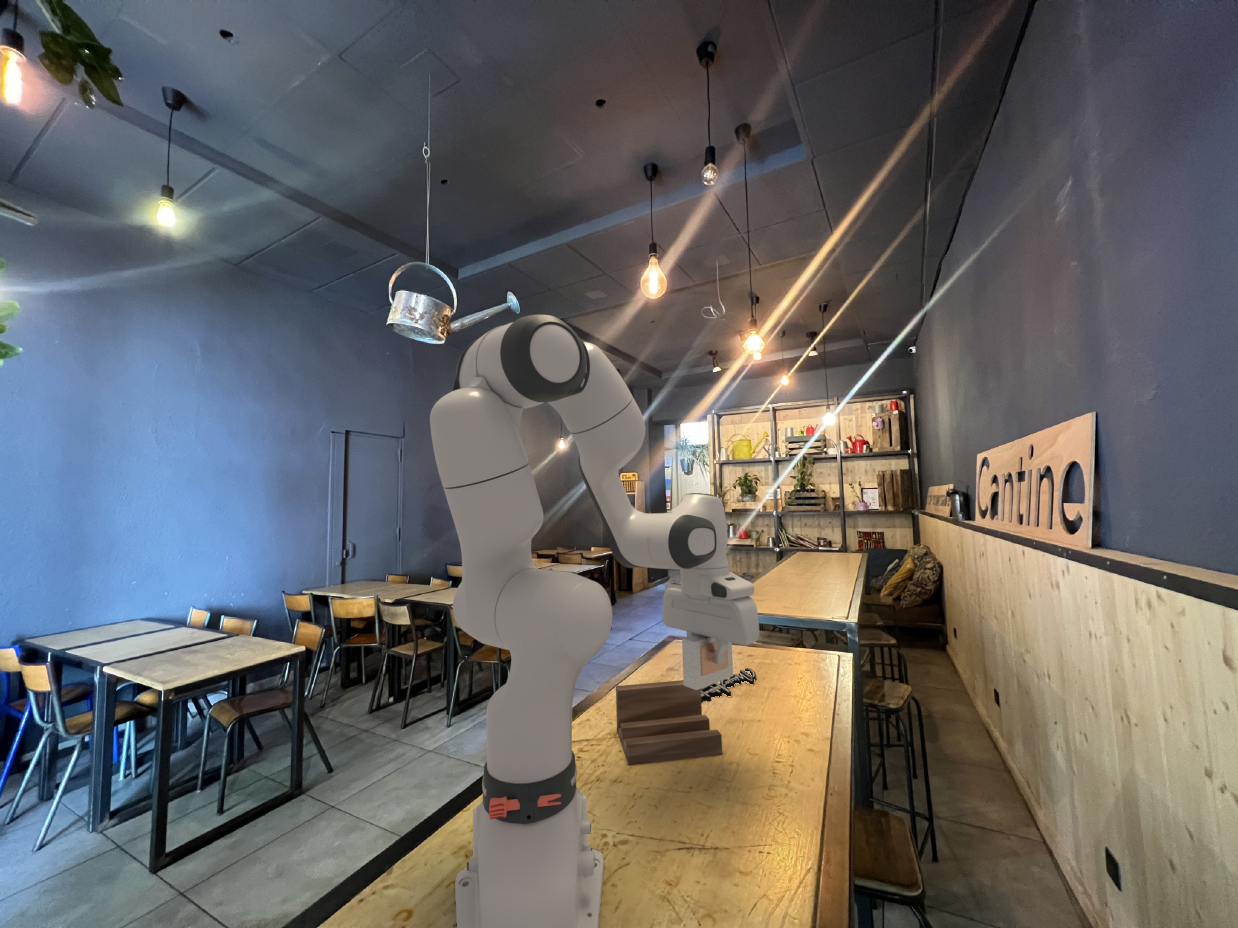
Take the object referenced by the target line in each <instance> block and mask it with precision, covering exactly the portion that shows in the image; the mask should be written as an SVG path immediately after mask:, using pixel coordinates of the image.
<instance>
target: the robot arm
mask: <svg viewBox="0 0 1238 928" xmlns="http://www.w3.org/2000/svg"><path fill="white" fill-rule="evenodd" d="M452 389H453V390H452V391H450V392H448V393H447V394H444V395H443V396H442V397H440V398H439V399H438V400H437V401H436V402H435V404H434V405H433V407H432V408H431V411H430V414H429V425H430V436H431V441H432V442H431V443H432V447H433V448H432V449H433V453H434V458H435V464H436V467H437V471H438V475H439V478H440V479H439V480H440V482H441V485H442V487H443V491H444V495H445V498H446V500H447V504H448V507H449V510H450V513H451V516H452V517H451V518H452V520H453V521H452V522H453V523H454V527H455V529H456V533H457V538H458V541H459V546H460V552H461V566H462V567H461V568H462V571H461V572H462V575H461V582H460V584H459V585H458V587H457V588H456V591H455V593H454V596H453V601H452V602H453V603H452V612H453V617H454V620H455V622H456V624H457V626H458V627H459V628H460V629H461V631H463V632H465V633H466V634H467V635H469V636H470V637H472V638H474V639H475V640H476V641H477V642H479V643H482V644H483V645H487V646H492V647H495V648H499V649H502V650H507V651H509V652H510V659H511V661H510V668H509V674H508V677H507V681H506V683H504V684H503V685H502V686H500V687H499V688H498V689H497V690H496V691H495V692H494V693H493V695H491V697H490V699H489V701H488V703H487V708H486V761H485V763H484V765H483V774H482V781H481V782H482V784H481V787H482V788H481V790H482V801H481V802H480V803H479V804H478V805H476V807H475V808H474V810H473V811H472V858H468V861H467V862H466V864H467V865H466V867H465V868H463V869H462V870H461V871H459V872H458V874H457V875H456V876H455V883H454V898H455V899H454V902H455V901H456V908H455V923H456V922H457V928H598V927H599V928H600V926H599V925H600V918H599V913H600V914H601V907H600V904H601V903H602V895H603V893H602V892H603V884H604V883H603V882H604V871H605V859H604V855H603V853H602V852H600V851H599V850H597V849H595V848H592V845H590V844H589V835H590V834H591V833H592V821H591V820H588V807H587V805H588V801H587V796H586V795H584V792H583V793H582V792H581V791H580V790H579V789H578V788H577V772H578V771H577V763H576V755H575V754H576V753H574V750H573V726H572V725H573V701H574V694H575V690H576V687H577V682H578V680H579V677H580V675H581V671H582V670H583V668H584V666H585V665H586V663H588V662H589V660H591V659H592V658H593V657H595V656H596V655H597V654H598V653H599V652H600V651H601V650H602V648H603V646H604V645H605V644H606V642H607V640H608V637H609V636H610V632H611V629H612V624H613V607H612V604H611V603H612V602H611V600H610V597H609V593H608V592H607V591H606V589H605V588H604V586H602V585H601V584H600V583H599V582H597V581H595V580H592V579H589V578H588V577H585V576H582V575H579V574H577V573H574V572H571V571H566V570H553V569H551V570H550V569H539V568H537V566H536V565H535V563H534V560H533V557H532V539H533V538H534V537H535V535H536V534H537V533H538V532H539V530H540V529H541V527H542V525H543V522H544V509H543V506H542V503H541V500H540V495H539V492H538V488H537V486H536V482H535V478H534V476H533V472H532V468H531V464H530V462H529V458H528V455H527V452H526V449H525V446H524V443H523V441H522V434H521V420H522V419H521V418H522V415H523V411H524V410H525V409H529V408H533V407H537V406H539V405H542V404H545V403H547V404H548V405H550V406H551V407H552V408H554V410H556V412H557V413H558V415H559V416H560V417H561V420H562V422H563V424H564V425H565V426H566V427H565V428H566V429H567V430H568V432H569V434H570V435H571V437H572V438H573V441H574V443H575V445H576V448H577V451H578V453H579V454H578V457H577V462H578V468H579V469H578V470H579V472H580V475H581V478H582V480H583V482H584V485H585V487H586V489H587V491H588V493H589V495H590V498H591V500H592V502H593V504H594V506H595V508H596V510H597V512H598V516H599V517H600V519H601V521H602V523H603V526H604V528H605V531H606V535H607V540H608V543H609V547H610V551H611V552H612V556H613V557H614V558H615V560H616V562H618V563H619V564H620V565H621V566H623V567H625V568H628V569H635V568H636V569H637V568H639V569H640V568H642V569H643V568H649V569H651V568H652V569H663V570H678V571H679V570H680V571H679V572H680V578H676V577H670V578H669V579H668V580H667V581H666V582H665V584H664V594H663V599H662V611H661V613H662V615H661V616H662V618H661V619H662V621H663V624H664V625H665V626H666V627H668V628H672V629H676V630H680V631H684V632H686V637H690V636H694V635H697V634H700V635H704V636H708V637H712V638H715V643H716V645H718V647H717V650H716V652H713V653H712V662H713V663H716V664H719V665H720V664H723V663H724V661H725V657H724V653H725V651H726V649H727V647H728V645H729V642H732V644H736V645H741V646H748V645H751V644H755V643H756V642H757V640H758V639H759V637H760V622H759V621H760V620H759V613H758V607H757V603H756V602H755V600H754V599H753V598H752V597H751V596H753V595H754V594H755V585H754V584H753V583H752V582H750V581H749V580H747V579H745V578H743V577H741V576H739V575H737V574H735V573H733V572H732V571H730V563H729V560H728V558H727V557H728V556H727V547H728V543H729V541H728V538H729V537H728V526H727V524H728V523H727V516H726V512H725V508H724V504H723V502H722V499H721V498H719V497H718V496H717V495H714V494H709V493H700V492H692V493H686V494H683V495H682V496H681V499H680V502H679V504H678V505H677V506H675V507H674V508H673V509H671V510H669V511H668V512H664V513H663V512H661V513H660V512H659V513H658V512H657V513H655V512H654V513H651V512H650V513H646V512H642V511H640V510H638V509H636V508H634V507H633V505H632V503H631V501H630V499H629V497H628V494H627V492H626V489H625V486H624V484H623V482H622V479H621V477H620V474H619V473H620V472H619V470H621V469H622V468H623V467H625V466H626V465H627V464H628V463H629V462H630V461H631V460H632V459H633V458H634V457H635V456H636V455H637V453H638V452H639V451H640V449H641V448H642V446H643V444H644V440H645V437H646V429H647V428H646V424H645V419H644V416H643V414H642V412H641V409H640V407H639V406H638V404H637V402H636V400H635V398H634V397H633V395H632V393H631V391H630V389H629V387H628V385H627V384H626V382H625V381H624V379H623V377H622V376H621V374H620V373H619V372H618V370H617V369H616V367H615V365H614V364H613V363H612V362H611V361H610V359H609V358H608V357H607V355H606V354H605V353H604V351H603V350H602V349H601V348H600V347H598V346H597V345H596V344H593V343H591V342H588V341H582V339H580V337H579V335H578V334H577V333H576V331H574V329H573V328H572V327H571V326H570V325H568V324H567V323H566V322H565V321H564V320H562V319H560V318H559V317H556V316H554V315H550V314H532V315H531V314H530V315H526V316H522V317H520V318H518V319H516V320H515V321H513V322H508V323H507V324H505V325H499V326H496V327H493V328H492V329H490V330H489V331H487V332H486V333H484V334H483V335H482V336H480V337H479V338H477V339H475V340H473V341H472V342H470V343H469V344H468V345H467V346H466V347H465V349H464V350H463V351H462V353H461V354H460V356H459V358H458V360H457V365H456V370H455V380H454V384H453V388H452ZM601 905H602V904H601Z"/></svg>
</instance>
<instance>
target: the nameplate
mask: <svg viewBox="0 0 1238 928" xmlns="http://www.w3.org/2000/svg"><path fill="white" fill-rule="evenodd" d="M745 671H750V673H751V675H752V676H751V675H750V674H748V673H747V672H745ZM740 673H741V674H740ZM755 678H756V679H757V675H756V672H755V671H754V670H753V669H752V668H749V667H745V668H744V669H741V670H739V673H738V674H737V673H736V674H734V673H733V676H732V677H730V678H727V679H724V680H722V681H719V682H717V683H714V684H711V685H709V686H706V687H704V688H701V704H702V703H704V702H707V703H708V702H709V703H711V702H712V698H711V697H714V698H716V697H715V696H719V697H718V698H721V697H720V696H722V697H723V695H724V694H726V695H727V696H731V697H732V691H730V688H727V687H731V686H734V684H735V683H739V684H741V685H742V683H741V681H742V682H744V681H747V682H749V683H750V684H754V685H755V682H754V679H755ZM734 687H735V686H734ZM722 693H724V694H722ZM727 696H726V697H727ZM710 701H711V702H710Z"/></svg>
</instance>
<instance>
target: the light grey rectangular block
mask: <svg viewBox="0 0 1238 928" xmlns="http://www.w3.org/2000/svg"><path fill="white" fill-rule="evenodd" d="M717 647H718V645H716V643H715V638H712V637H708V636H704V635H700V634H697V635H694V636H690V637H687V636H686V637H684V638H681V649H682V651H681V652H682V673H683V674H682V675H683V677H682V678H683V680H684V686H686V687H689V688H692V689H694V690H698V689H701V688H704V687H706V686H709V685H711V684H714V683H720V681H722V680H724V679H730V677H732V676H733V674H734V665H733V643H732V642H729V645H728V647H727V649H726V651H725V653H724V657H725V661H724V663H723V664H720V665H719V664H716V663H713V662H712V653H713V652H716V650H717Z"/></svg>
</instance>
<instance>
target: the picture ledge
mask: <svg viewBox="0 0 1238 928" xmlns="http://www.w3.org/2000/svg"><path fill="white" fill-rule="evenodd" d="M615 702H616V703H615V704H616V705H615V706H616V710H615V711H616V732H617V734H618V737H619V740H620V743H621V746H622V749H623V752H624V755H625V758H626V761H627V764H628V766H629V765H630V766H631V765H637V764H639V765H640V764H649V763H650V764H651V763H656V762H657V763H658V762H664V761H665V762H667V761H674V760H682V759H693V758H700V757H708V756H718V755H723V740H722V739H723V738H722V737H723V736H722V735H723V734H721V732H720V731H719V730H718V728H717V729H711V728H710V718H709V717H708V716H707V714H703V713H702V712H703V711H702V707H703V706H702V703H701V689H698V690H694V689H692V688H689V687H686V686H684V680H682V679H680V680H668V681H660V682H657V681H656V682H647V683H637V684H636V683H635V684H625V685H616V686H615Z"/></svg>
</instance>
